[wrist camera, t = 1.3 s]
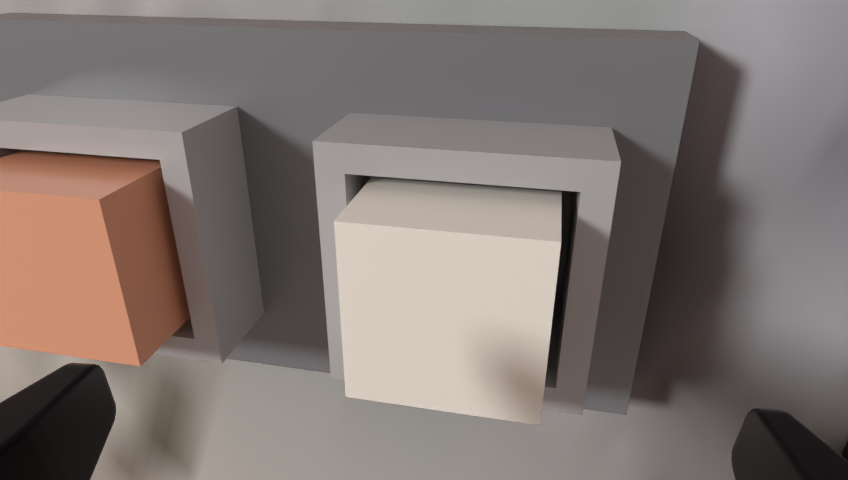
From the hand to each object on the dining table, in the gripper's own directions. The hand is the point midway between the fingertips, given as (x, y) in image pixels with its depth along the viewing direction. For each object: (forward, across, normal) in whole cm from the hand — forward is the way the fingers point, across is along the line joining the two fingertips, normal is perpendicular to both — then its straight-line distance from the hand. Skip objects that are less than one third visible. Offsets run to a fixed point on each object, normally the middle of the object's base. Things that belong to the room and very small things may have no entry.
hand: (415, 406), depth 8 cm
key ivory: (+8, -1, +3) cm, 9 cm away
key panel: (+13, +4, +4) cm, 14 cm away
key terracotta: (+9, +10, +3) cm, 14 cm away
